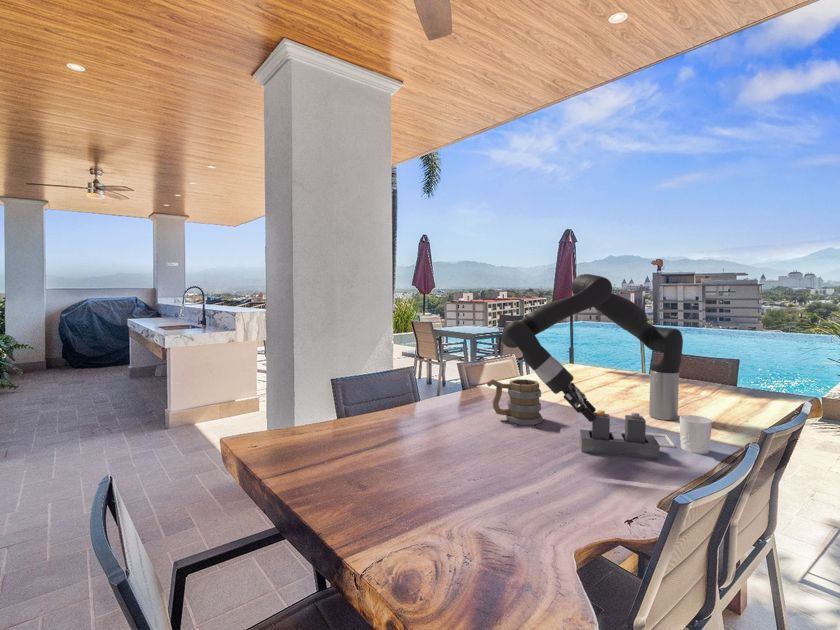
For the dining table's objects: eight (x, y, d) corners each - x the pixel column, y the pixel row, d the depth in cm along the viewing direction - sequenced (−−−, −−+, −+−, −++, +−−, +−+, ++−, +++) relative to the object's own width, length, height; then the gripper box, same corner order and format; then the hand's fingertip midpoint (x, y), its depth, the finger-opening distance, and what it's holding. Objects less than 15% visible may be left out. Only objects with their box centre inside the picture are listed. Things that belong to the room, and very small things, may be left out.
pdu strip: (579, 445, 130) (579, 428, 129) (652, 452, 124) (653, 434, 123) (581, 455, 122) (581, 437, 122) (659, 463, 116) (659, 444, 116)
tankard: (538, 414, 161) (538, 375, 160) (544, 425, 149) (545, 383, 148) (485, 413, 163) (485, 375, 162) (487, 424, 151) (487, 382, 150)
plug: (591, 445, 127) (592, 408, 126) (608, 447, 125) (609, 410, 125) (592, 450, 123) (592, 412, 122) (609, 452, 121) (609, 414, 120)
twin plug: (624, 448, 124) (625, 410, 123) (641, 450, 123) (642, 412, 122) (627, 454, 120) (628, 415, 119) (644, 455, 119) (645, 416, 118)
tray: (631, 436, 137) (631, 431, 137) (666, 439, 134) (666, 434, 134) (637, 447, 127) (637, 442, 127) (674, 451, 125) (675, 445, 124)
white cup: (695, 459, 119) (696, 424, 118) (672, 449, 126) (673, 416, 126) (717, 456, 121) (718, 421, 120) (693, 446, 128) (694, 413, 128)
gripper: (561, 370, 120) (604, 414, 116) (564, 362, 133) (603, 401, 129) (541, 387, 122) (583, 431, 118) (546, 377, 135) (584, 417, 132)
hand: (593, 415), depth 124 cm, fingers open, 8 cm apart
